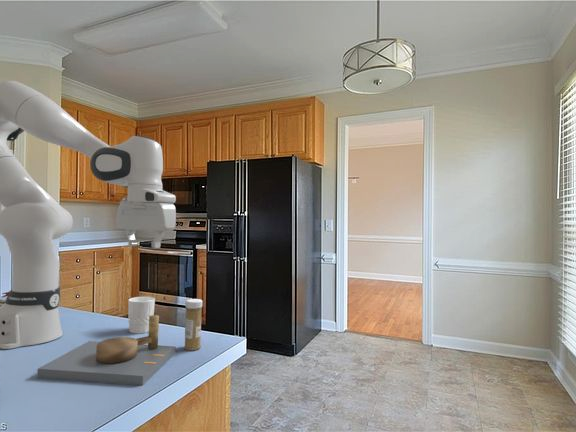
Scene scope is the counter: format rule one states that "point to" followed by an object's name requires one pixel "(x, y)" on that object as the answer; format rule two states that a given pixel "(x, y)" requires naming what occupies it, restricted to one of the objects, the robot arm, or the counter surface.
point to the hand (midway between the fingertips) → (144, 247)
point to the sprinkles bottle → (193, 324)
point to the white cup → (140, 314)
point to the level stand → (107, 365)
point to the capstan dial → (127, 345)
